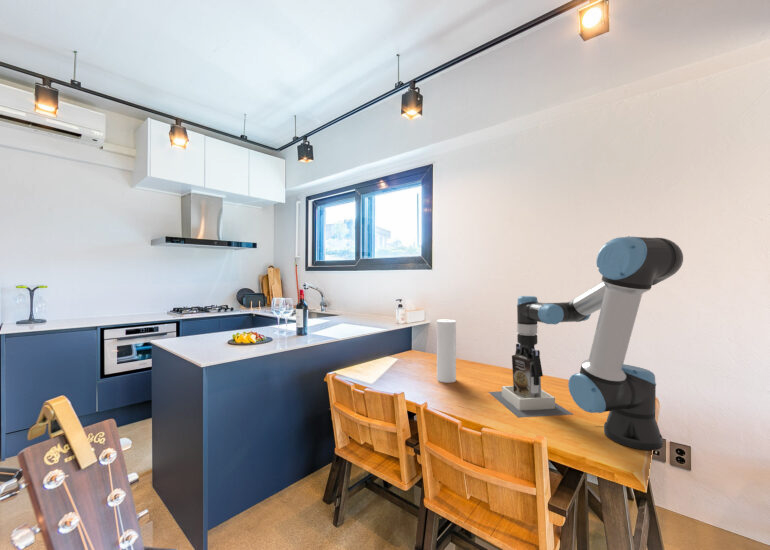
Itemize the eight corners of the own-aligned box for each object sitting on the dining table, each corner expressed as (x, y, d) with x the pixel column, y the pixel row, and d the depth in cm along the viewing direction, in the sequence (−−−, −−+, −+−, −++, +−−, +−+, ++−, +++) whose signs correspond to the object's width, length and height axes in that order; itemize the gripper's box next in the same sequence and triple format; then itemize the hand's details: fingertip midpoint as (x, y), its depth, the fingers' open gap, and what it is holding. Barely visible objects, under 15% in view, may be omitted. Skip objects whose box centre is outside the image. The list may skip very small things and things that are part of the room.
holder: (555, 408, 129) (555, 397, 129) (519, 410, 127) (519, 399, 127) (534, 394, 143) (534, 384, 143) (501, 396, 141) (501, 386, 141)
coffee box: (512, 393, 138) (510, 355, 137) (524, 390, 140) (522, 352, 140) (530, 401, 129) (528, 360, 129) (542, 397, 132) (540, 357, 132)
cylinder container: (454, 376, 169) (454, 318, 169) (456, 382, 160) (456, 321, 160) (436, 376, 170) (436, 318, 170) (437, 382, 161) (437, 321, 161)
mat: (573, 415, 123) (573, 414, 123) (518, 418, 121) (518, 417, 121) (534, 390, 149) (534, 389, 149) (488, 392, 147) (488, 391, 147)
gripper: (553, 339, 124) (553, 398, 124) (521, 329, 147) (521, 378, 147) (534, 339, 123) (534, 398, 123) (505, 329, 146) (505, 379, 146)
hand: (527, 387), depth 135 cm, fingers closed on coffee box, 10 cm apart
